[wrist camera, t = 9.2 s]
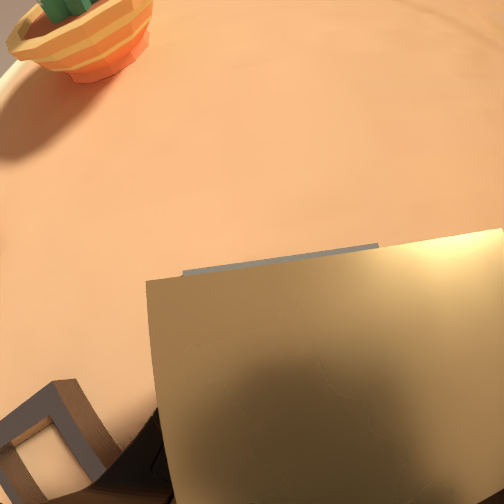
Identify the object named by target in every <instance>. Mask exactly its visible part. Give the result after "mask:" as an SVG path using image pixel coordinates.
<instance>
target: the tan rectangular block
mask: <svg viewBox="0 0 504 504" xmlns="http://www.w3.org/2000/svg"><path fill="white" fill-rule="evenodd" d="M146 294H147V310H148V323H149V335H150V346H151V356H152V365H153V373H154V381H155V389H156V396H157V403H158V410H159V417H160V423H161V429H162V435H163V441H164V446H165V451H166V457H167V462H168V467H169V471H170V476H171V481H172V485H173V490H174V494H175V498H176V502H177V504H477V503H479V502H481V501H483V500H485V499H486V498H488V497H490V496H492V495H493V494H495V493H497V492H498V491H500V490H502V489H503V488H504V234H503V230H502V228H499V229H493V230H487V231H482V232H476V233H470V234H464V235H458V236H451V237H445V238H439V239H433V240H427V241H420V242H414V243H408V244H402V245H395V246H389V247H382V248H376V249H369V250H363V251H356V252H350V253H343V254H336V255H330V256H323V257H316V258H309V259H303V260H296V261H289V262H282V263H275V264H268V265H261V266H254V267H247V268H240V269H232V270H225V271H218V272H210V273H203V274H196V275H188V276H181V277H173V278H166V279H158V280H150V281H146Z"/></svg>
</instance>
